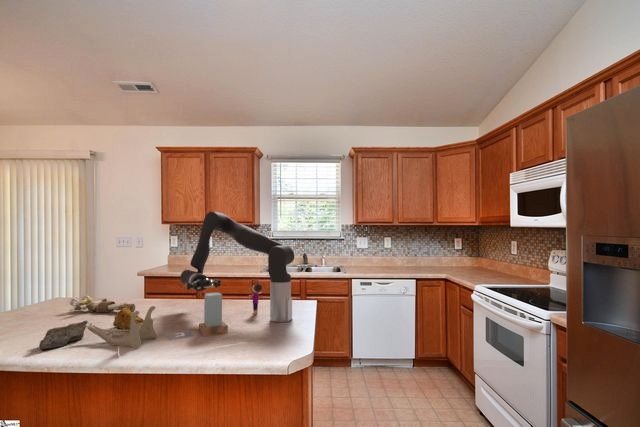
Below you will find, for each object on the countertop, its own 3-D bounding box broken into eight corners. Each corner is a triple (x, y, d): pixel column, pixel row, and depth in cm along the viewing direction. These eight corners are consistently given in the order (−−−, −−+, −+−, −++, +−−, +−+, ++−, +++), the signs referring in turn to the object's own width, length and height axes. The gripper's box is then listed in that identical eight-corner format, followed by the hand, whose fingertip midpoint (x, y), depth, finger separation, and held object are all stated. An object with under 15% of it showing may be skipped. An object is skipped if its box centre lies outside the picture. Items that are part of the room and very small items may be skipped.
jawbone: (158, 339, 124) (156, 303, 123) (140, 351, 114) (137, 312, 113) (99, 337, 128) (96, 302, 127) (76, 349, 118) (73, 311, 117)
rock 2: (137, 333, 143) (150, 318, 142) (123, 343, 135) (137, 327, 133) (118, 316, 143) (131, 300, 142) (103, 324, 135) (117, 308, 134)
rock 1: (72, 322, 130) (93, 317, 128) (75, 340, 129) (96, 335, 127) (25, 335, 113) (50, 329, 111) (28, 355, 112) (53, 349, 110)
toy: (258, 311, 165) (259, 280, 166) (268, 312, 163) (268, 281, 163) (245, 316, 156) (245, 284, 156) (254, 317, 153) (255, 284, 154)
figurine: (147, 308, 174) (95, 304, 178) (147, 294, 174) (95, 291, 178) (112, 321, 150) (53, 317, 154) (113, 306, 150) (54, 302, 154)
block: (218, 321, 136) (218, 292, 137) (221, 325, 132) (222, 294, 132) (204, 323, 133) (204, 293, 134) (207, 327, 129) (207, 296, 129)
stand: (221, 327, 138) (221, 320, 139) (227, 333, 131) (227, 325, 131) (198, 331, 134) (198, 323, 134) (204, 337, 126) (204, 329, 126)
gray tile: (189, 330, 134) (189, 329, 134) (194, 337, 126) (194, 336, 126) (165, 334, 129) (165, 333, 129) (168, 341, 121) (168, 340, 122)
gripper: (182, 275, 152) (189, 278, 138) (214, 272, 159) (223, 275, 146) (182, 291, 151) (189, 297, 138) (214, 288, 159) (224, 293, 145)
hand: (207, 286), depth 142 cm, fingers open, 8 cm apart
